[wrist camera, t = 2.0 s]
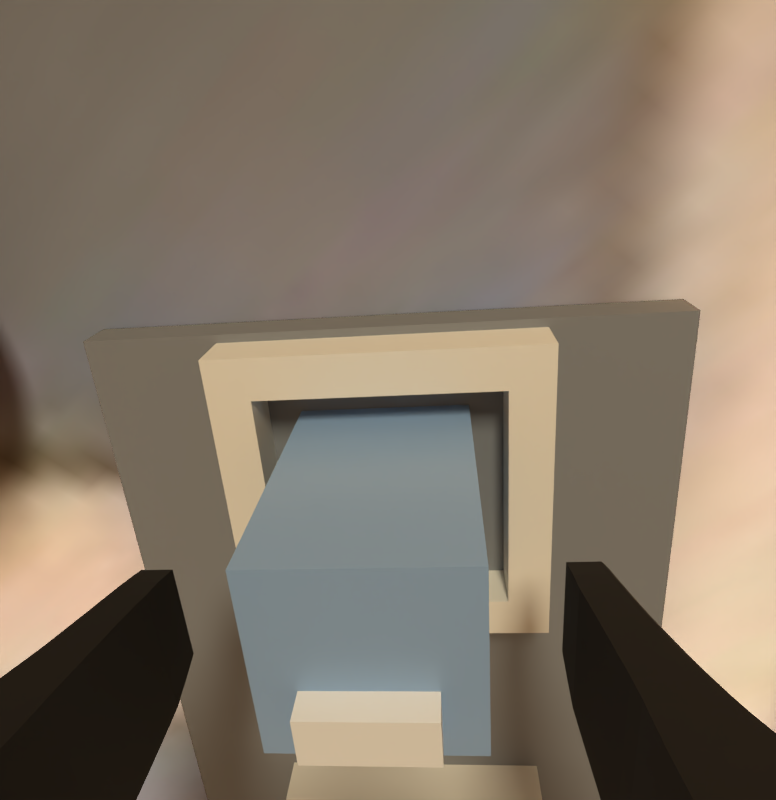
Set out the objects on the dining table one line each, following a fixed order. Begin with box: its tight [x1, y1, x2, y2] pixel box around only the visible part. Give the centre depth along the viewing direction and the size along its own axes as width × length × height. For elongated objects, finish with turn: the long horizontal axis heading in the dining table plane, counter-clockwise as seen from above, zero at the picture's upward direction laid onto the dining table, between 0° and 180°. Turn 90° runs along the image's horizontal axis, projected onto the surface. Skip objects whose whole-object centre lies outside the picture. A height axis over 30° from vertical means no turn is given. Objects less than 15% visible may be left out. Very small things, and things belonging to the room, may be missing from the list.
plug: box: [225, 405, 491, 768], centre depth 13 cm, size 4×4×7 cm
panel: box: [83, 299, 700, 800], centre depth 18 cm, size 14×22×2 cm, turn 4°
